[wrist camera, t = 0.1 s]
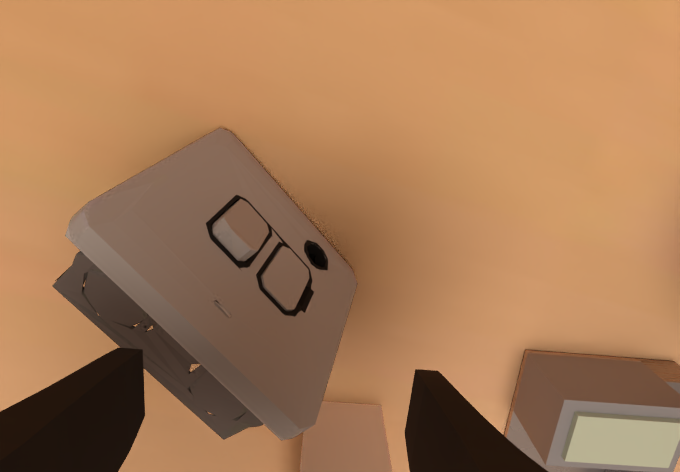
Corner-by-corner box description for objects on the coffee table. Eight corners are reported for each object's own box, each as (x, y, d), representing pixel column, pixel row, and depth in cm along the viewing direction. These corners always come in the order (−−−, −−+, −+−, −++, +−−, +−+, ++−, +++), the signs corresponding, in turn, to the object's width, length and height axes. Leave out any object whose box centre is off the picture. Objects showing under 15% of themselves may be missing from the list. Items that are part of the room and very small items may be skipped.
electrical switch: (361, 275, 22) (357, 413, 13) (282, 331, 23) (231, 490, 14) (227, 121, 19) (114, 163, 11) (149, 193, 21) (-8, 282, 12)
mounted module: (618, 414, 24) (677, 478, 20) (511, 407, 24) (548, 470, 20) (637, 358, 23) (703, 413, 19) (525, 349, 23) (568, 404, 19)
